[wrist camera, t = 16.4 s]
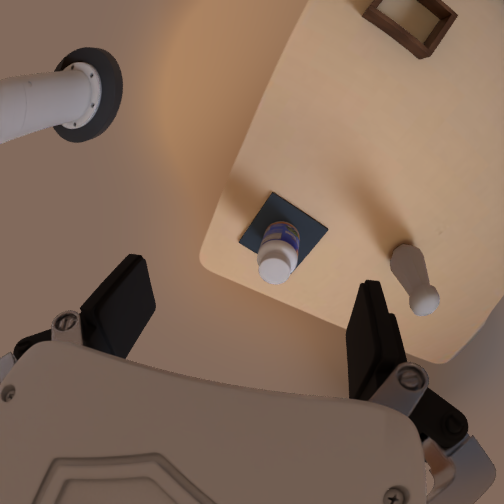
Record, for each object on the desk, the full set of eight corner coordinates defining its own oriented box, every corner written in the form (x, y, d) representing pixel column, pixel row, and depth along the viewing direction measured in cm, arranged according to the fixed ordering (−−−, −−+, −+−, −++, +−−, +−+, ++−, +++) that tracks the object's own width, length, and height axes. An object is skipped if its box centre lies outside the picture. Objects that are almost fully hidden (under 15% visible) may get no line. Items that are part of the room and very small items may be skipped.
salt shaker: (425, 247, 40) (454, 297, 29) (407, 274, 43) (428, 328, 32) (398, 233, 40) (425, 282, 29) (380, 262, 43) (398, 316, 32)
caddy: (361, 16, 25) (367, 8, 22) (392, -22, 20) (399, -32, 17) (419, 59, 27) (430, 56, 23) (446, 20, 22) (458, 15, 18)
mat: (239, 241, 46) (238, 242, 46) (272, 191, 41) (272, 192, 40) (290, 273, 47) (290, 274, 47) (328, 228, 42) (328, 230, 42)
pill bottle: (305, 245, 44) (303, 282, 35) (273, 256, 46) (264, 294, 37) (290, 214, 42) (285, 247, 33) (258, 227, 44) (245, 261, 35)
